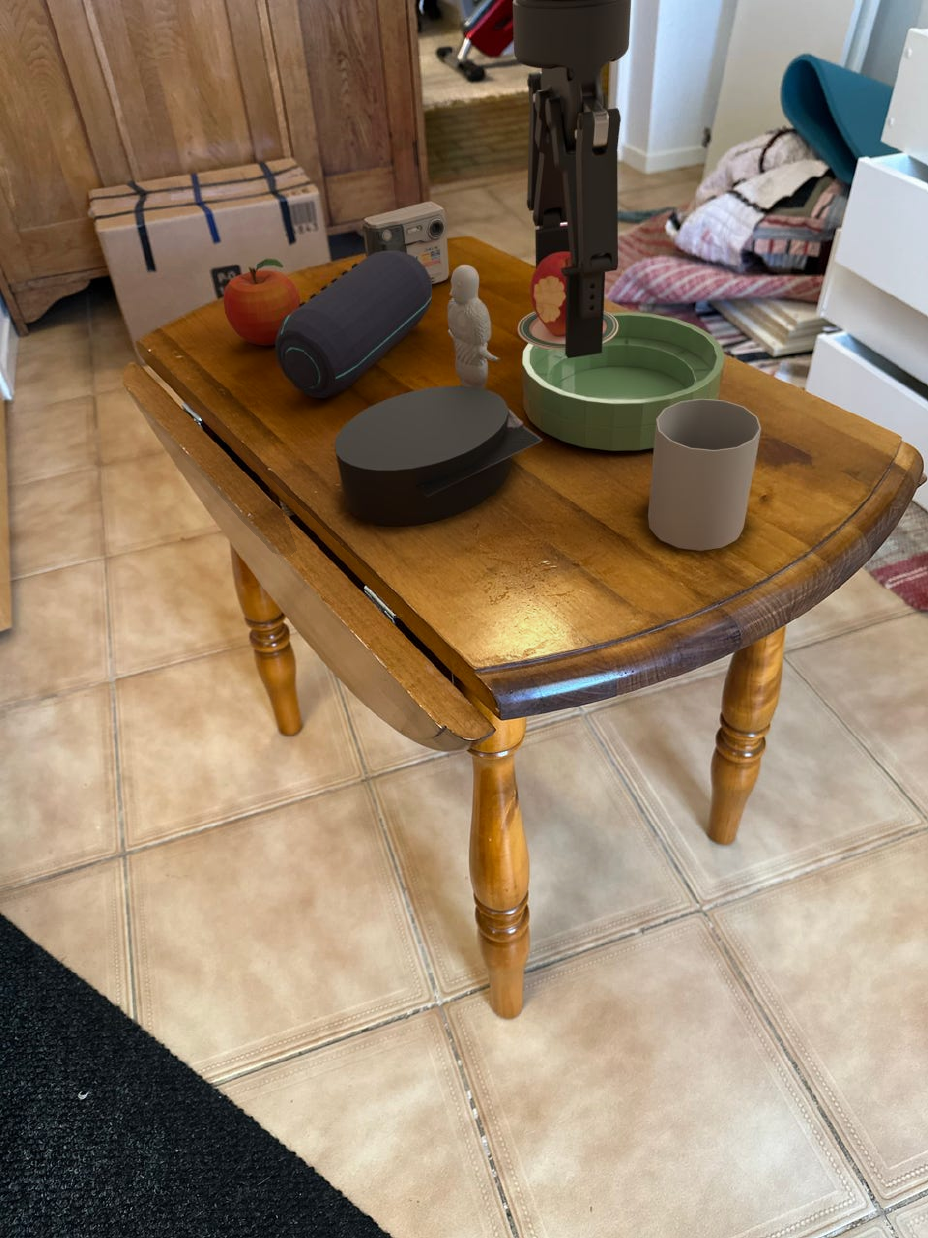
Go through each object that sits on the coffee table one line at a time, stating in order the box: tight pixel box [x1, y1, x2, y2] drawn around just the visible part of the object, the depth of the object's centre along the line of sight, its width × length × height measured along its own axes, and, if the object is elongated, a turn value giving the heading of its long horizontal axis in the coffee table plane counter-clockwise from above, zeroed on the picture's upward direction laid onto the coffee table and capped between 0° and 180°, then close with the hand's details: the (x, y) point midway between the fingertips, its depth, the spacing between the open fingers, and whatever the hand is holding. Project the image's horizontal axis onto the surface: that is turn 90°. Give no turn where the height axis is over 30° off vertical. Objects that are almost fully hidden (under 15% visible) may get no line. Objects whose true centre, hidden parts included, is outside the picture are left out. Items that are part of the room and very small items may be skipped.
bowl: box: [521, 311, 726, 452], centre depth 95 cm, size 21×21×6 cm
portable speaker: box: [274, 250, 433, 399], centre depth 106 cm, size 25×10×10 cm, turn 155°
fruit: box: [223, 258, 302, 347], centre depth 112 cm, size 10×10×10 cm
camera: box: [362, 201, 450, 285], centre depth 122 cm, size 11×6×10 cm, turn 119°
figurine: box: [447, 264, 500, 389], centre depth 95 cm, size 9×4×15 cm, turn 34°
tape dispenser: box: [334, 385, 544, 527], centre depth 86 cm, size 14×18×8 cm
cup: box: [647, 399, 762, 552], centre depth 77 cm, size 8×8×10 cm
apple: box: [517, 252, 618, 350], centre depth 70 cm, size 8×8×6 cm
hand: (567, 329), depth 72 cm, fingers closed on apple, 8 cm apart
